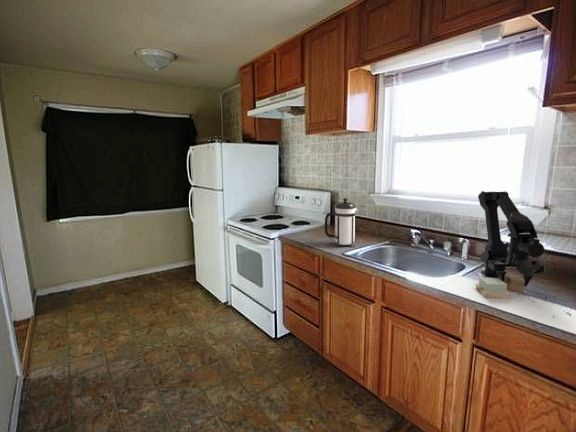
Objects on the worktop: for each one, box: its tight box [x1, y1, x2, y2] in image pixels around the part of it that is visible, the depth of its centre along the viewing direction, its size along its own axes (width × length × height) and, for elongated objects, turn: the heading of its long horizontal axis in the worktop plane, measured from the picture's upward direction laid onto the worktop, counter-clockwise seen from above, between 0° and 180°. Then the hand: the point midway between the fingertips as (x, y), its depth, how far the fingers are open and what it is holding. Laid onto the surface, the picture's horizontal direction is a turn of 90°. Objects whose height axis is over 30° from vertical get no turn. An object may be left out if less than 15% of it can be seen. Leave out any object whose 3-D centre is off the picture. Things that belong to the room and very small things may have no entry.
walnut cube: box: [504, 274, 525, 292], centre depth 130 cm, size 5×5×5 cm
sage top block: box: [478, 277, 508, 292], centre depth 125 cm, size 7×7×3 cm
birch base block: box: [475, 282, 511, 300], centre depth 126 cm, size 8×8×3 cm
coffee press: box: [324, 197, 359, 248], centre depth 198 cm, size 17×16×30 cm
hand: (513, 286), depth 131 cm, fingers open, 8 cm apart
